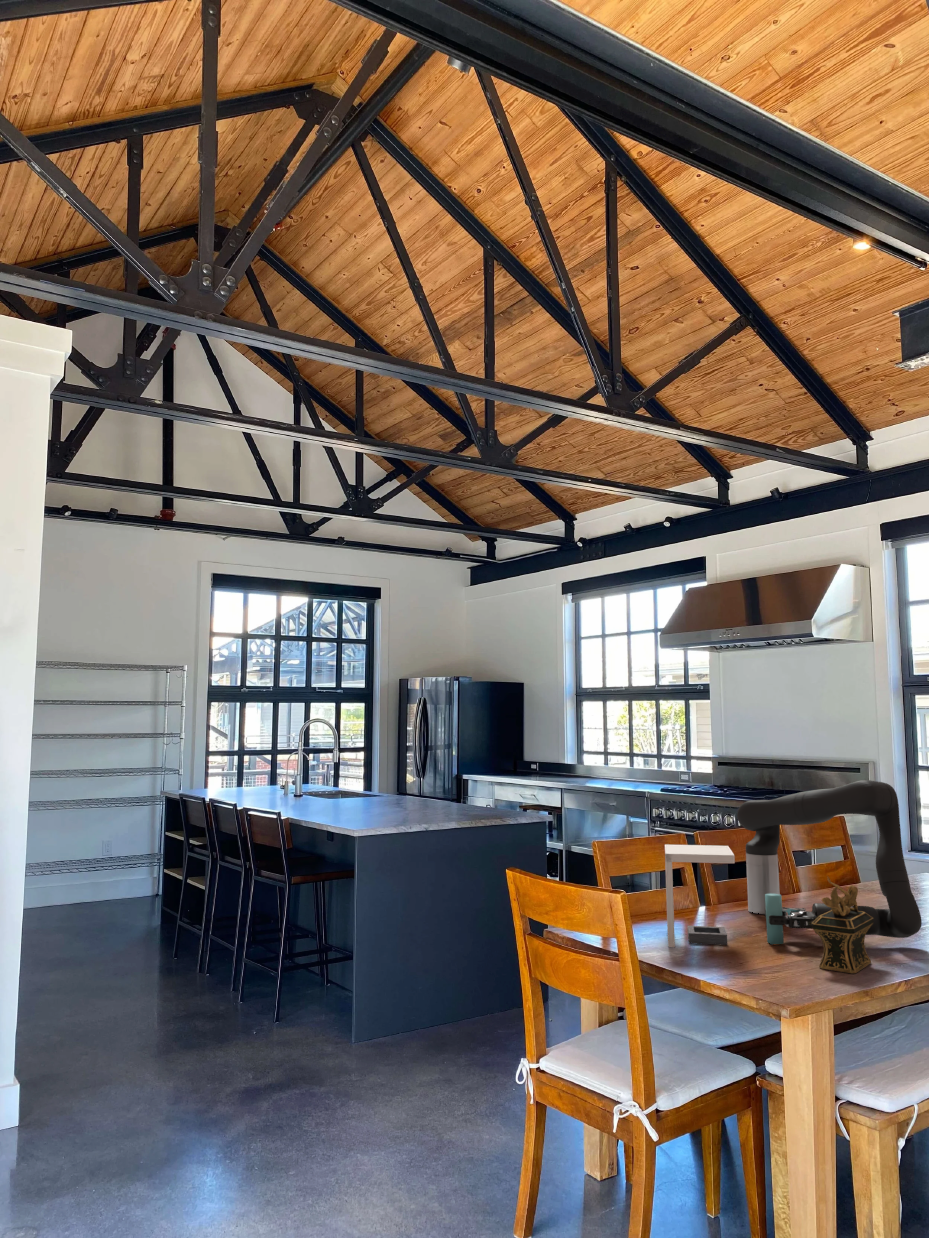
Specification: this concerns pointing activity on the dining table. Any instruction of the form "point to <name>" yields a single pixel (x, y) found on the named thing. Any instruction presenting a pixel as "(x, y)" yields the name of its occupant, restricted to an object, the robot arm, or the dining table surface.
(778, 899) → the peg
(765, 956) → the dining table surface
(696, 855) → the white inverted l bracket
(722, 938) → the socket
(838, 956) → the decorative box
